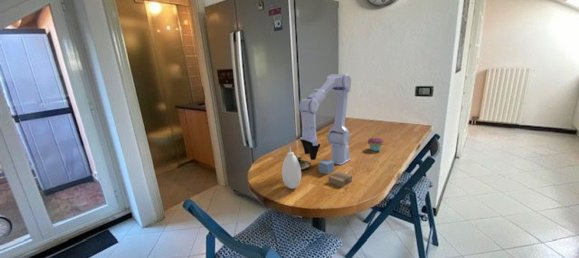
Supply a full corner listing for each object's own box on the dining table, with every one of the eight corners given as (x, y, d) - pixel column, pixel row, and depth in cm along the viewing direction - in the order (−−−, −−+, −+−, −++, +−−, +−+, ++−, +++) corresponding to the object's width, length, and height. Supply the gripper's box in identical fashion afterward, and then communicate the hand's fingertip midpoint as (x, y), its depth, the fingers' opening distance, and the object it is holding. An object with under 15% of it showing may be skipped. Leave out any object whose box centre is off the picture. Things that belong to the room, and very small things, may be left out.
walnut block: (338, 177, 112) (338, 171, 111) (351, 182, 107) (352, 175, 106) (328, 183, 107) (328, 176, 106) (342, 188, 102) (342, 181, 102)
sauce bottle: (287, 182, 109) (284, 142, 104) (304, 184, 106) (302, 144, 102) (279, 190, 102) (277, 148, 97) (298, 193, 99) (296, 150, 95)
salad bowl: (290, 173, 118) (290, 158, 116) (284, 165, 129) (283, 151, 127) (314, 170, 121) (314, 155, 119) (306, 161, 132) (306, 148, 130)
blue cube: (325, 168, 121) (325, 159, 120) (334, 171, 118) (334, 161, 117) (319, 172, 118) (318, 162, 117) (327, 174, 115) (327, 164, 113)
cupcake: (367, 151, 141) (368, 131, 138) (367, 147, 149) (367, 127, 146) (384, 152, 139) (385, 131, 136) (382, 147, 147) (383, 127, 144)
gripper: (295, 124, 114) (296, 152, 117) (305, 131, 100) (307, 163, 103) (310, 122, 115) (311, 150, 119) (322, 129, 102) (323, 161, 105)
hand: (310, 156), depth 111 cm, fingers open, 7 cm apart
